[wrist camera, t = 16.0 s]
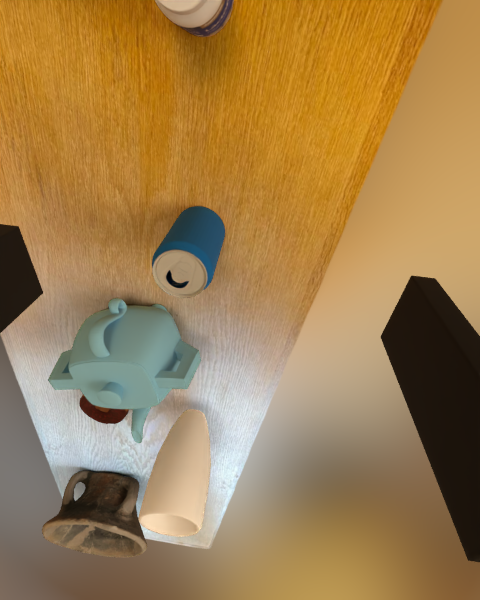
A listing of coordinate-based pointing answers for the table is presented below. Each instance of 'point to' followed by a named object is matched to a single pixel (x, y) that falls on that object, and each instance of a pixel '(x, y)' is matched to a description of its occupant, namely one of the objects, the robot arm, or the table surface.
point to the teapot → (127, 360)
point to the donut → (102, 412)
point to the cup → (179, 479)
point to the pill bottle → (197, 14)
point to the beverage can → (189, 253)
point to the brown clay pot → (99, 516)
